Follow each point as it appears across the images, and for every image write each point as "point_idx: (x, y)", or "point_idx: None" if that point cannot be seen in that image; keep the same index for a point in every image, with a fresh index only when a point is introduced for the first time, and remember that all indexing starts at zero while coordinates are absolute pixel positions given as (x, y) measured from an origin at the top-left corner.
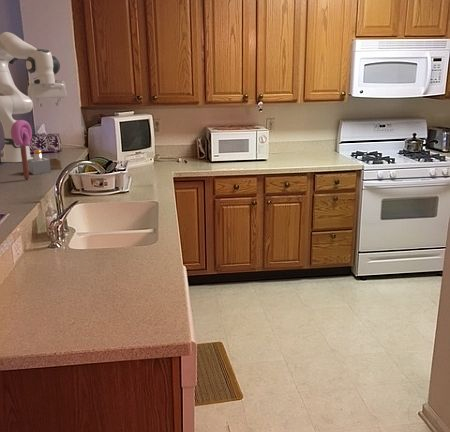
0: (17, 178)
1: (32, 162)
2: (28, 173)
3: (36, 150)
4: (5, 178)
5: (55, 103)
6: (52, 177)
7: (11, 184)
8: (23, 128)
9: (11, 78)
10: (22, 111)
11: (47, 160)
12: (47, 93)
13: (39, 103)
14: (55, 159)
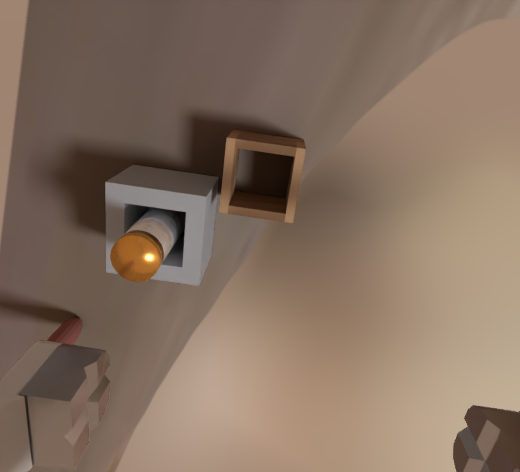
0: (51, 268)
1: (108, 269)
2: (73, 343)
3: (127, 259)
4: (5, 233)
5: (507, 452)
6: (177, 345)
7: (12, 349)
8: None
9: None
10: None
11: (187, 283)
12: None
13: (12, 467)
14: (292, 155)
